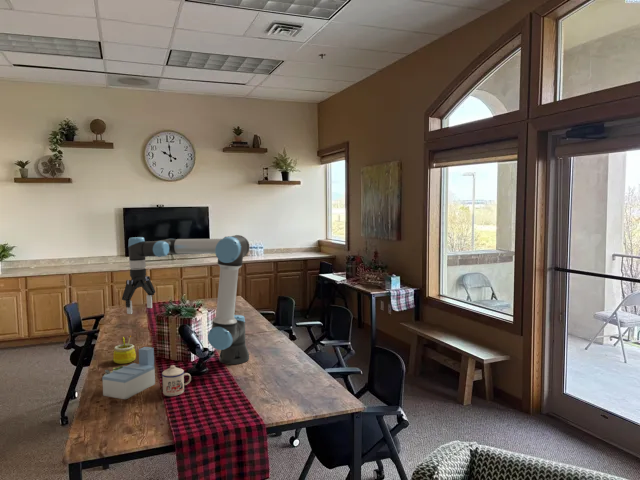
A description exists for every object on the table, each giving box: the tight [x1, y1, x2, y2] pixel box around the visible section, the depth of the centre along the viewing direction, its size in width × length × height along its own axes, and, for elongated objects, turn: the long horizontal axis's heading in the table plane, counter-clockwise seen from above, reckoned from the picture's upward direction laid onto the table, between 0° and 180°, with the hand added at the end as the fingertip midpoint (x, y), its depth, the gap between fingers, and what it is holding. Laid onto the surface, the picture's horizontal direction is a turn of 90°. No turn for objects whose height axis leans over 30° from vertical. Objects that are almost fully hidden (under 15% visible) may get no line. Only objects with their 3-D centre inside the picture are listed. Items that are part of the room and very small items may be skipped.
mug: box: [112, 335, 137, 365], centre depth 250 cm, size 13×11×12 cm
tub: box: [102, 369, 156, 400], centre depth 212 cm, size 12×18×7 cm, turn 159°
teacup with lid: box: [161, 364, 192, 397], centre depth 208 cm, size 12×9×12 cm
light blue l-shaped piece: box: [101, 346, 156, 383], centre depth 213 cm, size 12×22×9 cm, turn 159°
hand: (139, 310), depth 243 cm, fingers open, 13 cm apart
